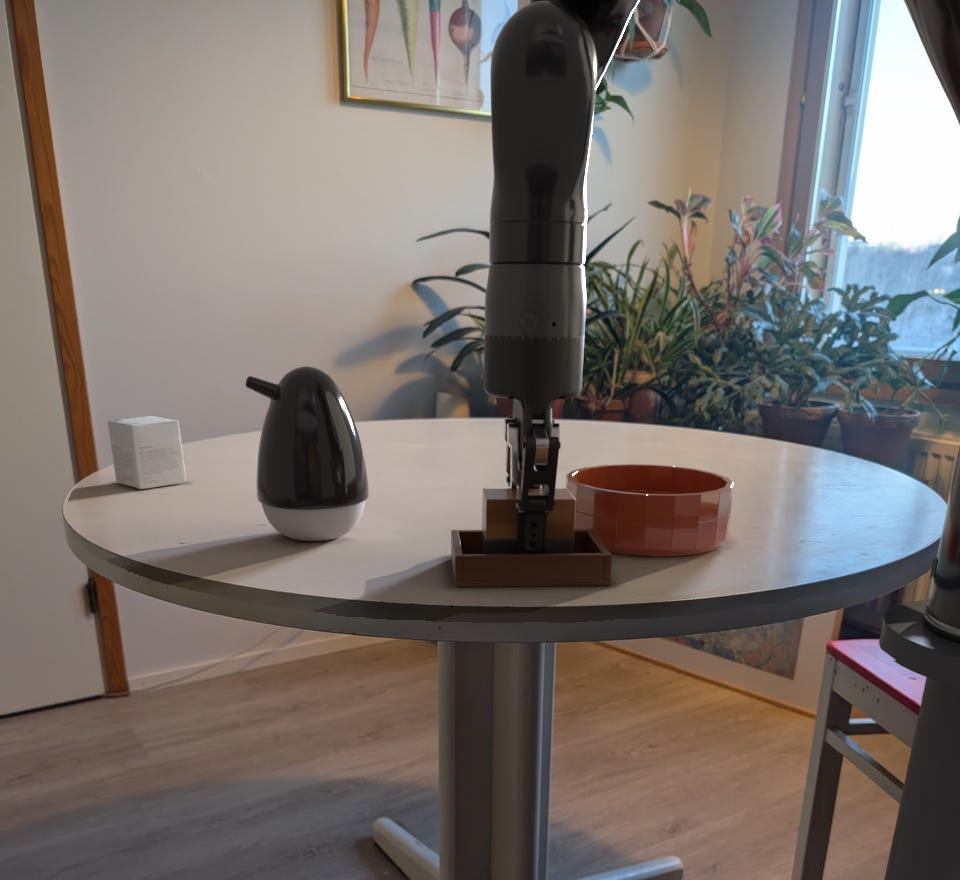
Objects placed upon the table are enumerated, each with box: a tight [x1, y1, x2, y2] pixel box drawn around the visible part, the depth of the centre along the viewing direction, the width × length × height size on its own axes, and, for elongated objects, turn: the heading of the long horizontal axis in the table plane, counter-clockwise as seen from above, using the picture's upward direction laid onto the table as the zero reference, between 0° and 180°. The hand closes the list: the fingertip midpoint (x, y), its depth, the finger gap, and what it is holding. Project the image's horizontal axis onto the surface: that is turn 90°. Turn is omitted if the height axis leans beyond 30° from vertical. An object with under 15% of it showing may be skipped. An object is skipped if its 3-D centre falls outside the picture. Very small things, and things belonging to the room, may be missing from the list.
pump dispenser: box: [244, 365, 370, 542], centre depth 81 cm, size 10×10×15 cm
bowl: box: [565, 463, 735, 558], centre depth 84 cm, size 15×15×6 cm
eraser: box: [481, 488, 576, 554], centre depth 72 cm, size 7×4×5 cm, turn 94°
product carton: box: [107, 415, 187, 490], centre depth 104 cm, size 6×6×7 cm
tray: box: [450, 529, 613, 588], centre depth 73 cm, size 12×8×2 cm
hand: (527, 550), depth 73 cm, fingers closed on eraser, 4 cm apart
